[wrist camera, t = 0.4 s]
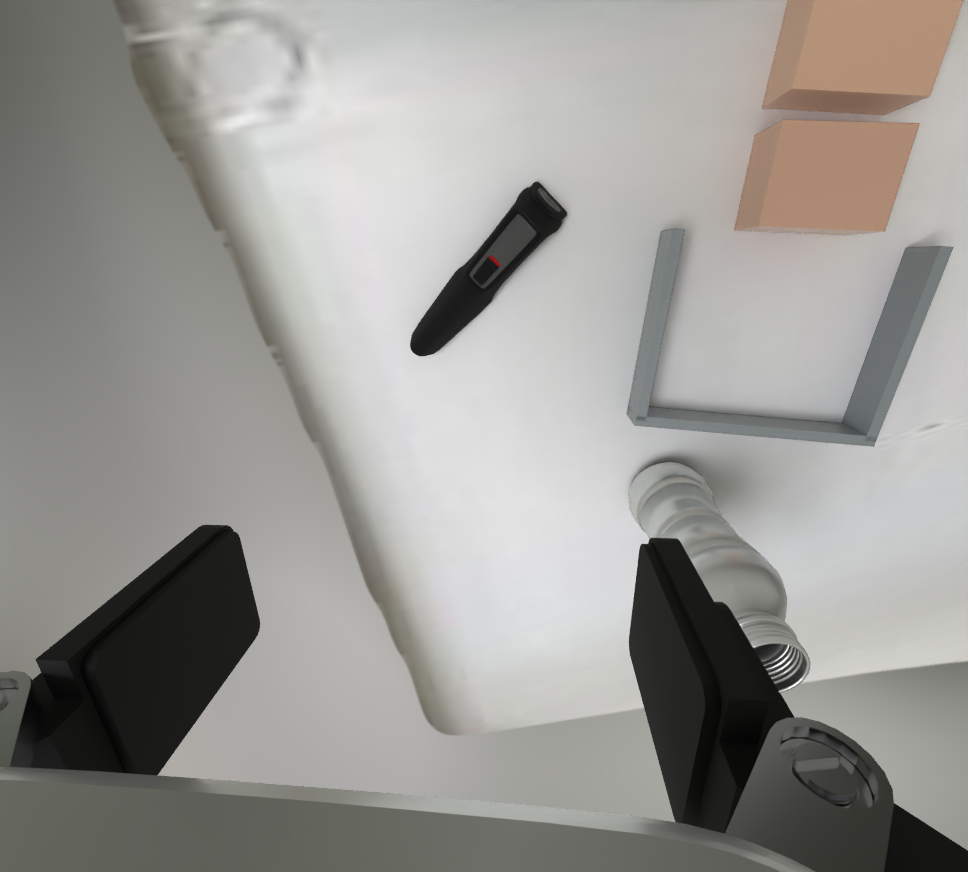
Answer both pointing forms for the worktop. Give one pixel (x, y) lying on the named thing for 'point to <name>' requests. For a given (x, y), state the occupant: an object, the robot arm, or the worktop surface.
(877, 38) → the tile
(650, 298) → the organizer bay
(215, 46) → the worktop surface
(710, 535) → the plastic bottle
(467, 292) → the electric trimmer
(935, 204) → the worktop surface
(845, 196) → the tile
